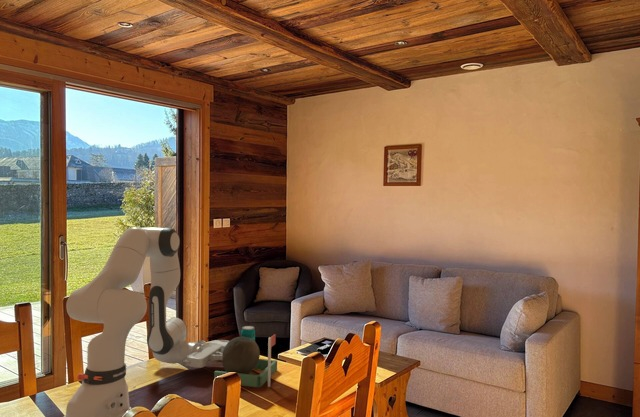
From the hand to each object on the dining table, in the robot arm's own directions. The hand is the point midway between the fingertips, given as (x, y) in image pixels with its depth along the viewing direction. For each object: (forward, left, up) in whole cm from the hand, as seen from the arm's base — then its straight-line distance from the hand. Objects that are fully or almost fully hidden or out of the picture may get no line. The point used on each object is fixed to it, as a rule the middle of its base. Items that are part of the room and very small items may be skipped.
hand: (224, 357), depth 197 cm
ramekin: (+22, +12, -7) cm, 26 cm away
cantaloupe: (-1, -7, -7) cm, 10 cm away
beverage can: (+15, -4, -7) cm, 17 cm away
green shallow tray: (0, -11, -7) cm, 13 cm away
